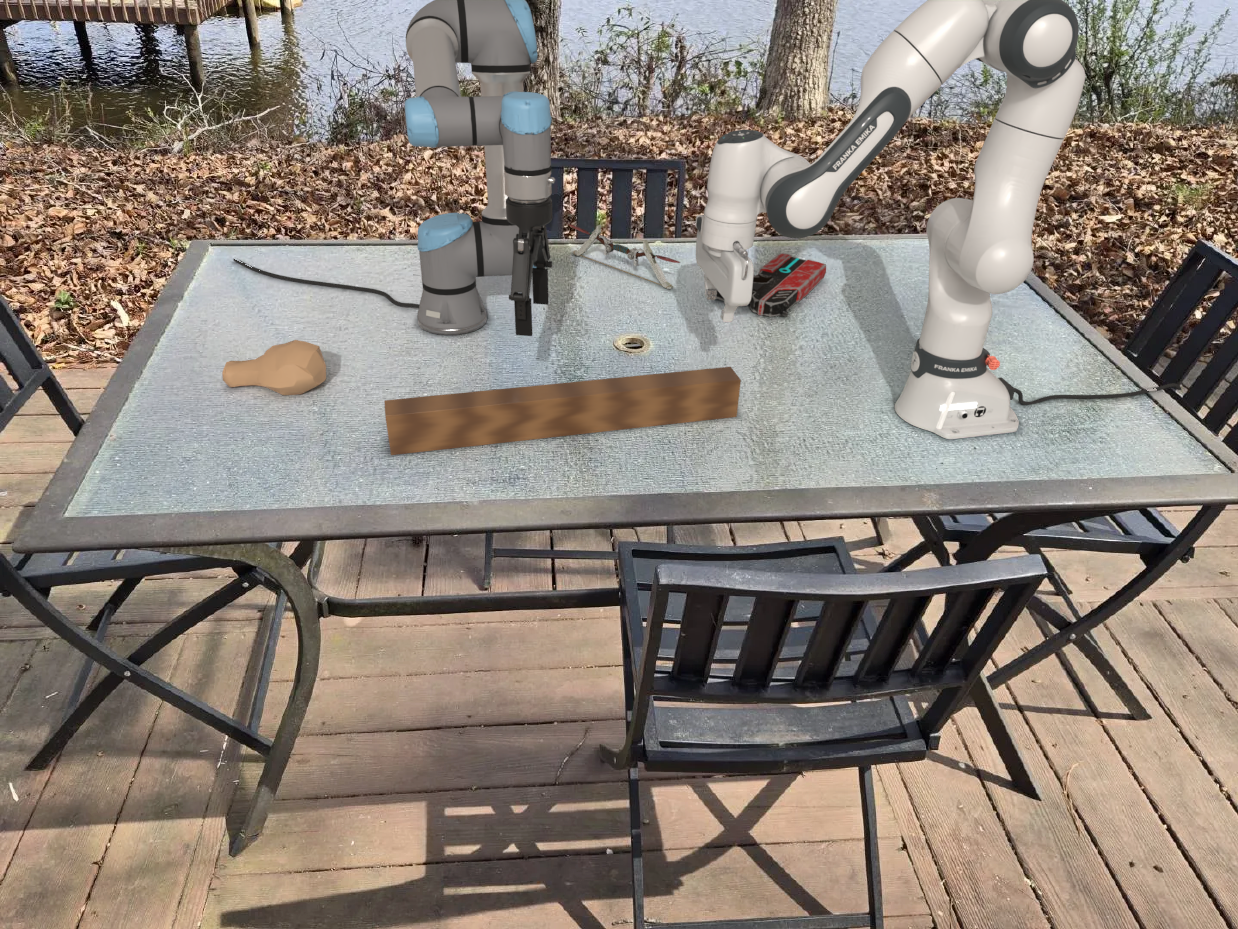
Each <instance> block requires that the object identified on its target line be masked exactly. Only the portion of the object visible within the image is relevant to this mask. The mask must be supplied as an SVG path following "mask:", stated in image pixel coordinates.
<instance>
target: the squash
mask: <svg viewBox="0 0 1238 929" xmlns="http://www.w3.org/2000/svg"><path fill="white" fill-rule="evenodd" d="M325 361H326V360H325V358H324V356H323V352H322V350H321V347H320V346H319V345H317V344H314V343H311V342H308V341H305V340H299V339H293V340H291V341H288V342H285V343H280V344H275V345H271V347H269V348H268V349H267V350H266V351H265V352H264V354H262V355H260V356H258V357H257V358H254V359H245V360H228V361H226V362H225V364H224V367H223V369H222V373H221V375H222V381H223V383H225V384H226V385H227V387H229V388H236V387H247V386H258V387H264V388H265V389H266V388H267V389H269V390H270V391H272V392H275V393H277V394H280V395H282V396H292V395H293V396H296V395H303V394H304V393H307V392H308V391H311V390H312V389H314V388H316V387H318V386H320V385H321V384H322V383H323V382H325V381H326V380H327V365H326V362H325Z"/></svg>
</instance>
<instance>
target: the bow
mask: <svg viewBox="0 0 1238 929" xmlns="http://www.w3.org/2000/svg"><path fill="white" fill-rule="evenodd" d="M567 225H568V226H569V227H571V228H573V229H575V230H577V231H579V232H581V233H583V234H585V235H586V234H587V235H589V238H588V239H587V240H586V241H584V243H583V244H581V246H580V248H578V250H577V249H575V250H572V252H571V253H572V254H573V255H574V256H577V257H578V256H579V257H583V258H585V259H588V260H591V261H594V262H596V263H599V264H601V265H605V266H607V267H610V268H613V269H615V270H619V271H621V272H623V273H626V274H629V275H632V276H635V277H637V278H640V279H642V280H645V281H648V282H651V283H654V284H657V285H659V286H662V287H663V288H665V289H667V290H671V289H673V288H674V285H673V284H671V283H670V282H669V281H668V280H667V279H666V276H665V274H664V272H663V270H662V268H661V267H660V265H659V263H658V262H657V260H656V259H659V260H662V261H665V262H669V263H676V264H681V261H679V260H677V259H674V258H670V257H667V256H663V255H660V254H654V252H653V249H652V248H651V246H650V244H649V241H648V240H647V239H645V240H643V241H642V242H643V243H642V244H643V245H642V247H643V248H637V247H636V246H635V247H633V248H629V247H628V246H625V245H622V244H619V243H614V239H608V238H607V237H606V236H604V235H602V234H601V233H602V225H601V224H598V225H596V227H595V229H594V230H593V231H592V232H589V231H588V230H586V229H584V228H581V227H580V226H577V225H574V224H570V223H567ZM597 241H598V242H600V244H602V245H603V246H604V250H603V256H608V255H609V254H610V253H614V251H615V252H619V253H621V254H624V255H627V259H628V260H630V261H633V262H632V263H633V267H638V266H640V264H639V262H640V261H639V258H640V257H641V258H642V257H646V259H647V261H648V262H649V264H650V266H651V268H652V271H653V273H654V274H655V276H656V278H657V280H658V282H659V283H658V282H656V281H653V280H650V279H647V278H645V277H643V276H642V277H641V276H640V275H637V274H633V273H631V272H628V271H626V270H623V269H620V268H618V267H615V266H612V265H609V264H607V263H603V262H601V261H598V260H595V259H593V258H590V257H587V256H584V254H585V253H587V251H588V250H589V249H590V248H591V247H592V245H593V244H595V243H596V242H597Z"/></svg>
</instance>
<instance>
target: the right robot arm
mask: <svg viewBox="0 0 1238 929" xmlns="http://www.w3.org/2000/svg"><path fill="white" fill-rule="evenodd" d="M1079 29H1080V28H1079V22H1078V16H1077V15H1076V13H1075V11H1074V10H1073V8H1072V7H1071V6H1070V5H1069V4H1068V3H1067V2H1065V1H1064V0H926V1H924V2H923V3H922V4H921V5H920V6H919V7H917V8H916V9H915V10H914V11H912V13H910V14H909V15H908V16H907V17H906V18H904V20H902V21H901V22H900V24H898V25H897V27H895V28H894V29H893V30H892V31H891V32H890V33H889V34H888V35H887V36H886V37H885V39H884V40H882V42H881V43H880V44H879V45H878V46H877V47H876V48H875V49H874V52H873V53H871V56H869V57H868V59H867V61H866V63H865V64H864V66H863V67H862V70H861V75H860V96H859V101H858V106H857V109H856V112H855V113H854V115H853V117H852V118H851V120H850V121H849V123H848V124H847V125H846V126H845V127H844V129H843V130H842V131H841V132H840V133H839V134H838V135H837V137H835V139H834V140H833V141H832V142H830V144H829V145H828V147H826V149H825V150H823V152H822V153H821V154H820V155H819V157H818V158H817V159H816V160H814V161H813V162H812V163H810V162H809V161H808V160H807V159H806V158H805V157H803V156H802V155H800V154H798V153H794V152H791V151H789V150H787V149H784V148H783V147H780V146H778V145H777V144H776V143H774V142H773V141H772V140H770V139H769V138H768V137H766V136H765V134H764V133H763V132H762V131H758V130H756V129H755V130H754V129H738V130H732V131H729V132H728V133H725V134H723V135H722V136H721V137H719V139H718V140H717V141H716V142H715V144H714V146H713V150H712V154H711V158H710V163H709V168H708V176H707V185H706V190H707V202H706V204H705V207H704V209H703V214H698V215H696V217H695V228H696V230H697V232H696V239H695V261H696V265H697V266H698V268H699V269H701V271H702V273H703V279H704V280H703V282H704V297H705V298H706V300H707V301H715V300H717V299H716V295H717V290H718V292H719V293H720V294H721V295H722V297H723V298H724V299H725V301H723V304H724V307H723V309H721V313H720V319H721V320H722V321H723V322H724V323H732V322H733V321H734V316H735V313H736V311H737V309H738V308H739V307H746V306H748V305H749V304H750V301H751V296H752V287H753V275H754V273H755V272H754V263H753V261H752V259H751V258H750V257H749V252H748V251H747V250H750V249H751V248H752V247H753V246H754V243H755V242H754V241H755V235H756V228H757V222H758V216H759V214H761V213H766V216H767V220H768V222H769V224H770V226H771V227H772V229H773V230H774V231H775V232H777V233H778V234H779V235H781V236H783V237H785V238H788V239H804V238H808V237H811V236H813V235H815V234H816V233H818V232H819V231H821V230H822V229H823V228H824V227H825V226H826V225H827V224H828V222H829V221H830V219H831V218H832V216H833V214H834V212H835V210H836V208H837V205H838V203H839V201H840V200H841V198H842V197H843V195H844V193H845V192H846V191H847V189H849V187H850V186H851V185H852V184H853V183H854V182H855V180H856V179H858V177H859V176H860V175H861V174H862V173H863V172H864V171H865V169H867V168H868V166H869V165H870V164H871V163H872V162H873V161H874V160H875V158H877V157H878V156H879V154H880V153H881V152H882V151H883V150H884V149H885V148H886V147H887V145H888V144H889V143H890V142H891V141H892V140H893V138H895V136H896V135H897V134H898V133H899V131H900V130H901V129H902V128H903V126H904V125H905V124H906V123H907V121H908V120H909V119H910V118H911V117H912V116H913V115H914V114H915V112H916V111H917V110H918V109H919V108H920V107H921V106H922V105H923V104H924V103H925V102H927V100H928V99H930V97H931V96H932V95H933V94H934V93H935V92H937V90H938V89H940V87H942V86H943V85H944V84H945V83H946V82H947V81H948V80H949V79H950V78H951V77H952V75H953V74H955V72H956V71H957V70H958V69H961V67H963V66H964V65H966V64H967V63H969V62H971V61H973V60H976V61H978V62H981V63H984V64H985V65H986V66H989V67H990V68H992V69H994V70H996V71H999V72H1003V73H1006V88H1005V89H1006V90H1005V92H1004V97H1003V100H1002V102H1001V104H1000V106H999V108H998V110H997V112H996V114H995V117H994V118H993V121H992V123H991V126H990V128H989V131H988V133H987V134H986V138H985V139H984V142H983V145H982V147H981V150H980V152H979V153H978V156H977V158H976V161H975V163H974V167H973V168H974V170H973V175H974V193H973V197H972V199H968V198H962V197H953V198H949V199H947V200H944V201H943V202H941V203H940V204H938V205H937V206H936V207H935V208H933V210H932V212H931V213H930V215H929V216H928V220H927V221H926V227H925V229H926V236H927V241H928V249H929V254H928V255H929V260H928V294H927V302H926V309H925V313H924V318H923V321H922V327H921V331H920V335H919V338H918V339H917V340H916V342H915V345H914V350H913V353H912V356H911V362H910V371H909V375H908V377H907V380H906V382H905V384H904V387H903V389H902V391H901V393H900V395H899V397H898V398H897V400H896V402H895V403H894V411H895V413H896V415H898V417H900V419H902V420H903V421H905V422H906V423H908V424H909V425H911V426H913V427H916V428H919V429H921V430H924V431H929V432H931V433H934V434H936V435H937V436H939V437H941V438H943V439H946V440H956V439H957V440H958V439H967V438H974V437H982V436H983V437H984V436H992V435H1001V434H1002V435H1003V434H1009V433H1016V432H1018V430H1019V425H1020V421H1019V419H1018V415H1017V413H1016V412H1015V411H1014V409H1013V408H1012V407H1011V401H1013V400H1014V396H1015V394H1016V395H1017V396H1018V403H1019V404H1020V405H1022V406H1030V405H1031V406H1032V405H1036V404H1041V403H1043V402H1046V401H1050V400H1063V399H1064V400H1101V399H1103V400H1104V399H1120V398H1129V397H1134V396H1139V395H1144V394H1149V393H1150V392H1149V391H1147V390H1146V388H1145V389H1140V390H1137V391H1131V392H1124V393H1123V392H1121V393H1110V394H1109V393H1108V394H1051V395H1046V396H1043V397H1041V398H1038V399H1035V400H1031V401H1026V400H1024V395H1023V392H1022V391H1021V390H1020V389H1019V388H1016V387H1014V386H1013V385H1012V384H1010V382H1008V381H1007V380H1006V379H1005V378H1003V377H998V376H996V375H995V374H994V373H993V372H992V371H995V370H998V369H999V368H1000V366H1001V361H999V359H998V358H997V357H996V356H994V355H991V353H990V352H989V351H988V350H987V349H986V348H985V347H984V346H985V342H986V338H987V335H988V332H989V328H990V324H991V321H992V318H993V303H992V301H991V294H992V295H1003V294H1007V293H1009V292H1011V291H1014V290H1015V289H1018V288H1019V287H1020V286H1021V285H1022V284H1023V283H1024V282H1025V281H1026V280H1027V278H1028V277H1029V276H1030V274H1031V272H1032V269H1033V266H1034V259H1035V258H1034V257H1035V256H1034V251H1033V229H1034V224H1035V218H1036V214H1037V213H1036V212H1037V209H1038V204H1039V200H1040V196H1041V193H1042V189H1043V187H1044V185H1045V182H1046V179H1047V177H1048V175H1049V173H1050V170H1051V168H1052V166H1053V164H1054V162H1055V159H1056V157H1057V156H1058V153H1059V151H1060V148H1061V146H1062V144H1063V142H1064V140H1065V138H1066V136H1067V134H1068V131H1069V129H1070V127H1071V124H1072V122H1073V120H1074V117H1075V115H1076V111H1077V110H1078V106H1079V103H1080V100H1081V96H1082V93H1083V89H1084V86H1085V82H1086V71H1085V69H1084V66H1083V65H1082V64H1081V63H1080V61H1079V60H1077V59H1076V57H1077V50H1076V49H1077V45H1078V40H1079ZM716 289H717V290H716ZM1152 388H1153V389H1154V388H1156V389H1157V391H1156V392H1159V391H1162V390H1163V391H1164V390H1166V389H1170V388H1175V389H1176V390H1177V391H1182V387H1181V386H1180V384H1178V383H1175V382H1172V383H1167V384H1163V385H1160V386H1155V387H1152Z"/></svg>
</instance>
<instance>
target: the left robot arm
mask: <svg viewBox="0 0 1238 929" xmlns="http://www.w3.org/2000/svg"><path fill="white" fill-rule="evenodd" d="M535 29H536V28H535V24H534V19H533V14H532V11H531V8H530V6H529V4H528V2H527V0H432V1H430V2H428V3H426V4H425V5H423V6H422V7H421V8H420V9H419V10H418V11H416V12H415V14H414V15H413V17H412V18H411V19H410V21H409V24H408V26H407V29H406V32H405V48H406V52H407V55H408V56H409V59H410V60H411V62H412V66H413V77H414V90H415V97H408V98H406V99H405V101H404V113H405V123H406V132H407V133H406V134H407V140H408V143H409V144H410V145H411V146H412V147H419V148H421V147H423V148H431V149H436V148H445V147H446V148H449V147H469V146H470V147H472V146H473V147H474V146H477V147H481V146H483V147H484V162H485V164H484V165H485V178H486V179H485V180H486V191H487V192H486V193H487V205H486V207H485V208H484V209H483V210H481V220H480V221H473V218H472V217H471V216H470V215H469V214H468V213H464V212H462V213H460V212H448V213H443V214H437V215H434V216H431V217H430V218H427V219H426V220H424V221H423V222H421V224H419V226H418V229H417V247H416V248H417V250H418V252H419V253H418V255H419V263H420V275H421V276H420V277H421V284H422V292H421V297H420V302H419V304H418V303H413V302H412V303H411V302H400V301H398V300H397V299H396V300H395V299H394V298H393V297H392V296H391V295H390V294H388V293H387V292H385V291H382V290H381V289H380V290H379V289H377V288H371V287H363V286H355V285H349V284H343V283H342V284H341V283H333V282H332V283H331V282H325V281H318V280H311V279H304V278H297V277H292V276H286V275H281V274H277V273H274V272H269V271H267V270H263V269H261V268H257V267H256V266H253V265H250V266H251V267H252V266H253V267H252V268H251V267H249V266H247V265H245V264H247V263H246V262H244V261H242V260H240V261H241V262H243V263H241V262H239V261H237V260H235V259H234V258H233V259H232V260H233V262H235V263H237V264H238V265H240V266H242V267H244V268H246V269H248V270H251V271H253V272H255V273H258V274H261V275H263V276H266V277H271V278H274V279H279V280H282V281H289V282H294V283H299V284H306V285H307V284H308V285H312V286H313V285H315V286H321V287H328V288H335V289H336V288H337V289H343V290H344V289H345V290H352V291H358V292H359V291H360V292H366V293H372V294H376V295H380V296H383V297H385V298H386V299H387V300H388V301H389V302H390V303H392V304H393V305H395V306H398V307H402V308H412V309H413V308H414V309H418V310H417V316H416V318H417V325H418V326H419V328H420V329H421V330H423V331H424V332H427V333H430V334H433V335H440V336H459V335H465V334H469V333H473V332H476V331H477V330H480V329H481V328H483V327H484V326H485V325H486V323H487V320H488V316H487V310H486V306H485V304H484V302H483V299H482V298H481V295H480V293H479V291H478V288H477V278H485V277H503V276H504V277H505V276H506V277H507V276H511V281H510V282H511V284H510V285H511V286H510V294H508V300H509V301H512V302H513V303H514V304H513V305H514V324H515V326H514V327H515V328H514V329H515V336H521V337H522V336H523V337H524V336H525V337H533V311H532V310H533V308H532V305H533V304H534V305H545V306H546V305H549V303H550V302H549V301H550V300H549V269H552V268H553V261H552V260H551V253H550V245H549V239H548V238H549V237H548V233H547V225H548V224H550V223H551V222H552V220H553V199H552V198H551V196H552V193H553V192H552V185H553V184H555V183H556V178H555V177H553V176H551V175H552V142H551V141H552V133H551V132H552V130H551V128H552V125H551V124H552V123H553V122H552V116H551V105H550V100H549V98H548V97H547V96H546V95H545V94H540V93H539V92H531V91H524V82H525V80H526V78H528V76H529V75H530V74H531V64H534V63H536V62H537V61H538V44H537V36H536V30H535ZM456 63H457V64H470V66H471V74H472V75H473V76H474V77H475V79H476V80H478V81H479V85H480V86H479V87H480V96H462V94H461V88H460V83H459V74H458V69H457V64H456ZM259 270H260V271H259ZM531 286H532V298H531V297H530V296H531Z"/></svg>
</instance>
